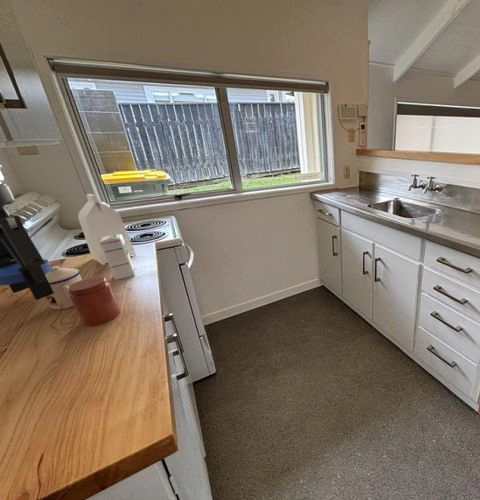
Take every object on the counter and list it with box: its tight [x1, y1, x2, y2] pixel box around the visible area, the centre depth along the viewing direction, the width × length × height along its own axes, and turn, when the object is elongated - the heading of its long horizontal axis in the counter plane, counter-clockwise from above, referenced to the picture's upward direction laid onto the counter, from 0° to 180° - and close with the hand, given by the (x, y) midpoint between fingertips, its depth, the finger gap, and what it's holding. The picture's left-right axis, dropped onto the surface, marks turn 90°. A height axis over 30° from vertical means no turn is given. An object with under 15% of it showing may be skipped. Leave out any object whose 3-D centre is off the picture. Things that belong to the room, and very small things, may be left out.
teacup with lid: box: [44, 265, 83, 311], centre depth 82 cm, size 12×9×12 cm
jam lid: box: [0, 259, 53, 286], centre depth 58 cm, size 8×8×2 cm
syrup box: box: [99, 234, 136, 281], centre depth 98 cm, size 6×6×14 cm
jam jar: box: [68, 276, 121, 327], centre depth 75 cm, size 8×8×10 cm
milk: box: [77, 193, 137, 265], centre depth 113 cm, size 12×12×26 cm
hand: (33, 292), depth 60 cm, fingers closed on jam lid, 8 cm apart
